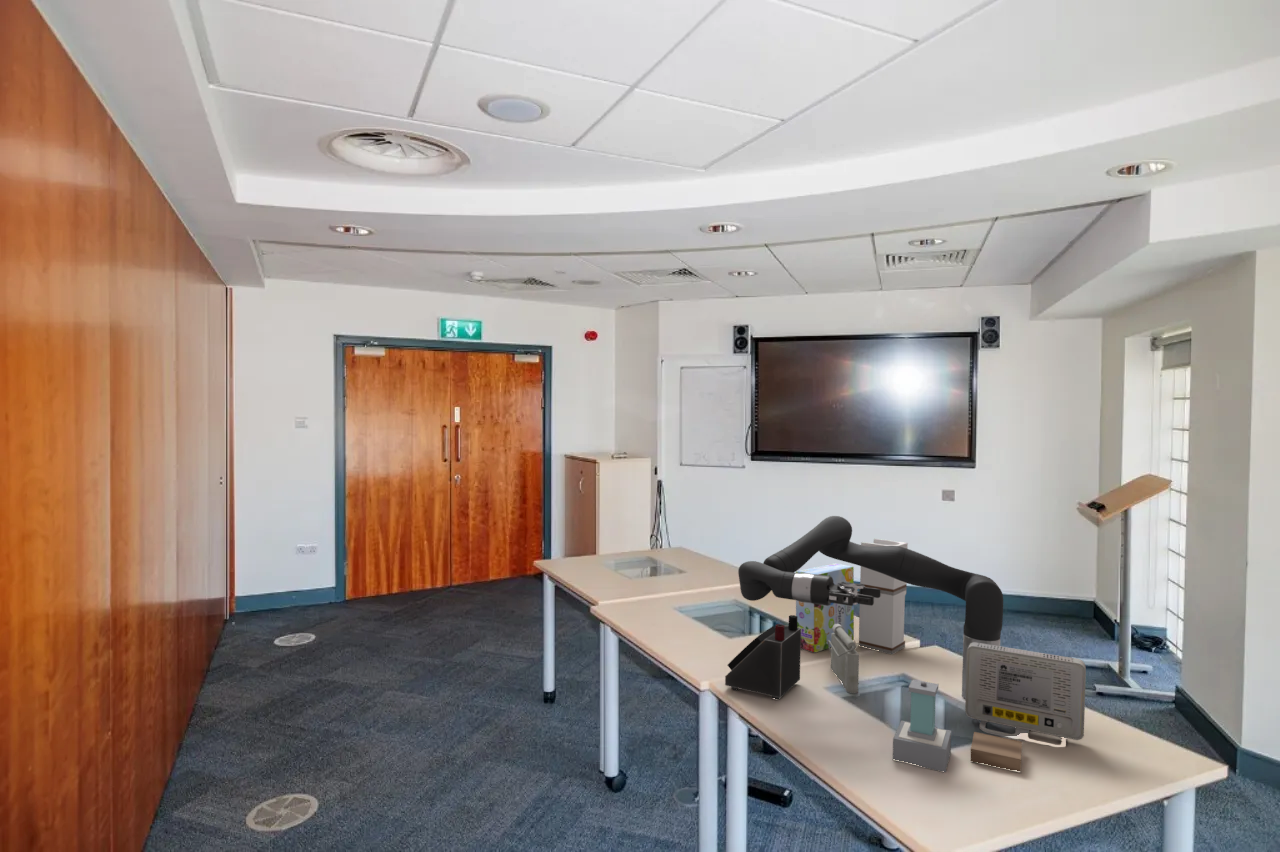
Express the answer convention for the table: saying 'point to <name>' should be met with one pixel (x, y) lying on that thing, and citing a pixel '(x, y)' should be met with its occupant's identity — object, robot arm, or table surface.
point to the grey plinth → (922, 748)
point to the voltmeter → (768, 662)
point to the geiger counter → (844, 658)
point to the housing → (922, 710)
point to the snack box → (825, 611)
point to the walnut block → (996, 751)
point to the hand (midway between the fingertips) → (877, 597)
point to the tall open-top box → (883, 608)
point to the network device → (1025, 690)
